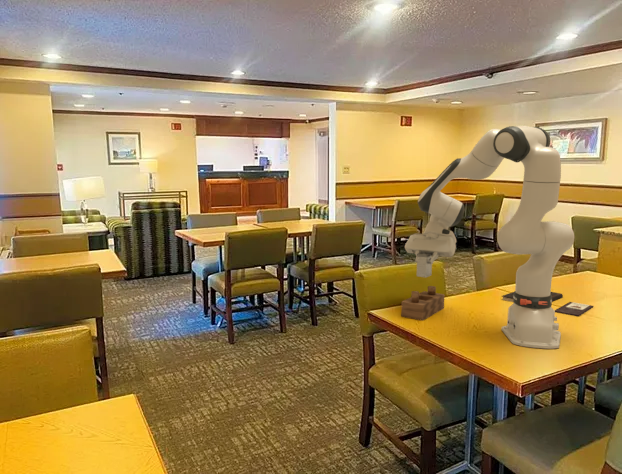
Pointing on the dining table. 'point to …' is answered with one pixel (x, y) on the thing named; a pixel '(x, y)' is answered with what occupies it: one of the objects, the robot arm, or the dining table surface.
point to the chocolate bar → (574, 309)
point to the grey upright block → (424, 264)
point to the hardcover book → (554, 295)
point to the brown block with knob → (423, 304)
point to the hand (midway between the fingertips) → (423, 262)
